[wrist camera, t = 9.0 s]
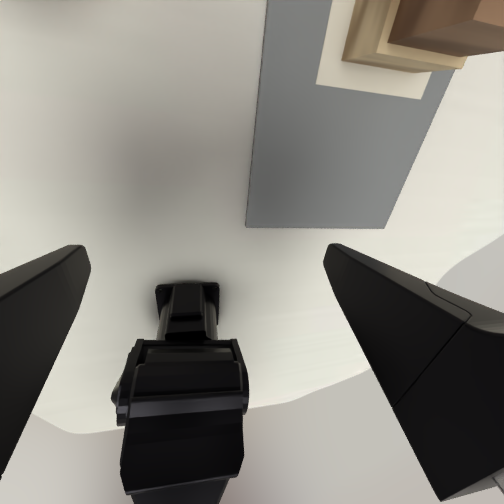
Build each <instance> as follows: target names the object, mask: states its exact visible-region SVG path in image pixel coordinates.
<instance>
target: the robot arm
mask: <svg viewBox="0 0 504 504" xmlns="http://www.w3.org/2000/svg"><path fill="white" fill-rule="evenodd" d="M323 265H324V268H325V271H326V274H327V276H328V279H329V282H330V284H331V287H332V290H333V292H334V294H335V297H336V299H337V301H338V303H339V305H340V307H341V309H342V311H343V313H344V315H345V317H346V319H347V321H348V323H349V325H350V326H351V328H352V330H353V332H354V334H355V336H356V338H357V340H358V342H359V344H360V346H361V348H362V350H363V352H364V354H365V356H366V358H367V360H368V362H369V364H370V366H371V368H372V370H373V372H374V374H375V375H376V378H377V380H378V382H379V383H380V386H381V387H382V390H383V391H384V393H385V395H386V397H387V399H388V401H389V403H390V405H391V407H392V409H393V411H394V413H395V415H396V417H397V419H398V421H399V423H400V425H401V427H402V429H403V431H404V433H405V435H406V437H407V439H408V441H409V443H410V445H411V447H412V449H413V451H414V453H415V455H416V457H417V459H418V461H419V463H420V465H421V467H422V468H423V471H424V473H425V474H426V477H427V478H428V480H429V482H430V484H431V486H432V488H433V490H434V492H435V494H436V496H437V497H438V499H439V500H440V502H442V501H446V500H449V499H452V498H456V497H460V496H463V495H467V494H471V493H474V492H478V491H481V490H485V489H488V488H492V487H495V486H498V488H499V489H500V490H501V492H502V493H503V494H504V313H502V312H499V311H497V310H494V309H492V308H489V307H486V306H484V305H481V304H479V303H476V302H474V301H471V300H469V299H466V298H464V297H461V296H459V295H456V294H454V293H452V292H449V291H447V290H445V289H442V288H440V287H438V286H435V285H433V284H431V283H428V282H424V280H421V279H419V278H417V277H415V276H412V275H410V274H408V273H405V272H403V271H401V270H399V269H396V268H394V267H392V266H390V265H387V264H385V263H383V262H380V261H378V260H376V259H374V258H371V257H369V256H367V255H365V254H362V253H360V252H358V251H355V250H353V249H351V248H349V247H346V246H344V245H342V244H339V243H332V244H329V245H328V247H327V250H326V253H325V257H324V260H323ZM90 272H91V264H90V261H89V258H88V255H87V252H86V249H85V247H84V246H83V245H67V246H65V247H63V248H60V249H58V250H56V251H53V252H51V253H49V254H46V255H44V256H42V257H39V258H37V259H35V260H32V261H30V262H28V263H25V264H23V265H21V266H18V267H16V268H14V269H11V270H9V271H7V272H4V273H2V274H0V480H1V478H2V476H1V475H2V474H3V473H4V471H5V469H6V466H7V464H8V462H9V460H10V458H11V456H12V453H13V451H14V449H15V447H16V444H17V443H18V440H19V438H20V436H21V434H22V432H23V429H24V427H25V425H26V423H27V421H28V419H29V417H30V414H31V412H32V410H33V408H34V406H35V404H36V401H37V399H38V397H39V395H40V393H41V391H42V388H43V386H44V384H45V382H46V380H47V378H48V375H49V373H50V371H51V369H52V367H53V365H54V362H55V360H56V358H57V356H58V354H59V352H60V349H61V347H62V345H63V343H64V341H65V339H66V336H67V334H68V332H69V330H70V328H71V326H72V323H73V321H74V319H75V317H76V315H77V312H78V310H79V307H80V304H81V301H82V298H83V295H84V292H85V288H86V285H87V282H88V279H89V276H90ZM213 287H216V288H213ZM159 289H161V290H159ZM219 291H220V288H219V284H217V283H198V284H172V285H158V286H157V287H156V289H155V294H156V300H157V307H158V314H159V320H160V321H159V327H158V333H157V338H156V340H144V339H137V341H136V344H135V347H132V350H131V352H130V353H129V354H128V358H127V362H126V365H125V369H124V371H123V373H122V375H121V377H120V379H119V381H118V382H117V384H116V386H115V388H114V390H113V392H112V395H111V401H112V402H113V403H114V405H115V406H116V414H117V426H125V431H124V438H123V444H122V451H121V458H120V467H121V469H120V476H121V479H122V483H123V486H124V490H125V493H126V495H131V497H132V499H133V502H134V504H219V502H220V500H221V497H222V495H223V493H224V490H225V488H226V485H227V483H228V481H229V479H230V478H235V477H237V476H238V474H239V471H240V468H241V465H242V461H243V458H244V443H243V415H245V413H246V412H247V409H248V403H249V380H248V373H247V369H246V366H245V363H244V360H243V357H242V354H241V351H240V348H239V345H238V342H237V339H230V340H218V337H217V325H218V315H219Z"/></svg>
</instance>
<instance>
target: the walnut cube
mask: <svg viewBox="0 0 504 504" xmlns="http://www.w3.org/2000/svg"><path fill="white" fill-rule="evenodd" d="M387 43H390V44H395V45H400V46H405V47H411V48H416V49H421V50H426V51H431V52H436V53H441V54H446V55H451V56H456V57H465V56H472V55H479V54H486V53H493V52H500V51H504V0H400V3H399V6H398V10H397V13H396V16H395V19H394V23H393V26H392V29H391V32H390V35H389V39H388V42H387Z"/></svg>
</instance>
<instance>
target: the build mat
mask: <svg viewBox="0 0 504 504" xmlns="http://www.w3.org/2000/svg"><path fill="white" fill-rule="evenodd" d="M354 5H355V0H267V10H266V21H265V31H264V41H263V51H262V61H261V71H260V82H259V92H258V102H257V112H256V122H255V132H254V143H253V153H252V163H251V173H250V183H249V193H248V204H247V214H246V224H245V226H246V228H346V229H384V228H385V226H386V224H387V221H388V219H389V217H390V215H391V212H392V210H393V208H394V206H395V203H396V201H397V199H398V197H399V194H400V192H401V190H402V188H403V185H404V183H405V181H406V179H407V177H408V174H409V172H410V170H411V168H412V165H413V163H414V161H415V159H416V156H417V154H418V152H419V150H420V147H421V145H422V143H423V141H424V138H425V136H426V134H427V132H428V129H429V127H430V125H431V123H432V120H433V118H434V116H435V114H436V111H437V109H438V107H439V105H440V102H441V100H442V98H443V96H444V94H445V91H446V89H447V87H448V85H449V82H450V80H451V78H452V76H453V73H454V71H455V69H453V70H443V71H433V72H422V73H409V72H403V71H397V70H391V69H385V68H380V67H374V66H368V65H362V64H356V63H351V62H345V61H341V59H342V55H343V51H344V47H345V42H346V38H347V34H348V30H349V26H350V21H351V17H352V13H353V9H354Z"/></svg>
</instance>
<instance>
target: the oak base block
mask: <svg viewBox="0 0 504 504" xmlns="http://www.w3.org/2000/svg"><path fill="white" fill-rule="evenodd" d="M399 3H400V0H355V5H354V9H353V13H352V17H351V21H350V26H349V30H348V34H347V38H346V42H345V47H344V51H343V55H342V59H341V61H345V62H351V63H356V64H362V65H368V66H374V67H380V68H385V69H391V70H397V71H403V72H409V73H422V72H433V71H443V70H453V69H462V68H463V65H464V63H465V61H466V59H467V57H468V56H465V57H456V56H451V55H446V54H441V53H436V52H431V51H426V50H421V49H416V48H411V47H405V46H400V45H395V44H390V43H387V42H388V39H389V35H390V32H391V29H392V26H393V23H394V19H395V16H396V13H397V10H398V6H399Z"/></svg>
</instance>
